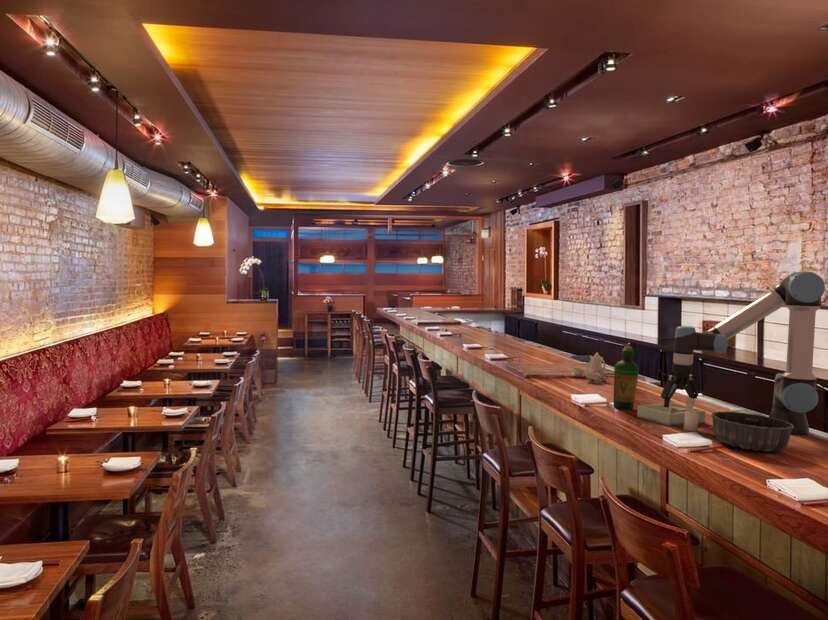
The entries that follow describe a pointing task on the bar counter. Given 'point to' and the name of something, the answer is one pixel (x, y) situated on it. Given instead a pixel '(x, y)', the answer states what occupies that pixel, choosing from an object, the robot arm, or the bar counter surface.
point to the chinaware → (592, 369)
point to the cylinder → (691, 421)
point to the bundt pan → (751, 431)
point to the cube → (677, 409)
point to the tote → (666, 414)
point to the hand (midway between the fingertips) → (678, 414)
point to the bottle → (625, 380)
